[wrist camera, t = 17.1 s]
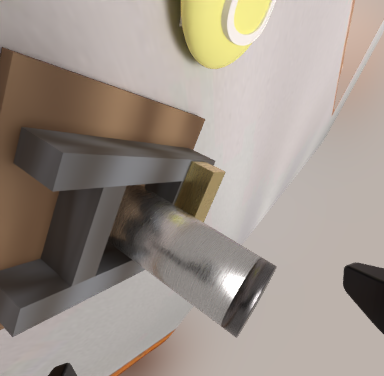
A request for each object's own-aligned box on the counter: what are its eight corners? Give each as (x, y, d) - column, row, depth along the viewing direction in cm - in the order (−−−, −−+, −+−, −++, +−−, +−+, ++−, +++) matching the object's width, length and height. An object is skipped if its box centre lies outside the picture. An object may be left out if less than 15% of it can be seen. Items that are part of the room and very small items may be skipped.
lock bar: (149, 267, 25) (167, 280, 24) (192, 161, 22) (213, 172, 21) (165, 259, 27) (182, 271, 26) (205, 161, 24) (225, 171, 23)
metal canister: (90, 242, 21) (229, 350, 17) (83, 195, 19) (249, 310, 14) (134, 210, 24) (262, 294, 20) (135, 166, 22) (284, 252, 17)
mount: (-57, 343, 16) (-21, 393, 14) (2, 46, 12) (60, 74, 10) (144, 255, 32) (170, 275, 30) (198, 116, 28) (232, 130, 26)
